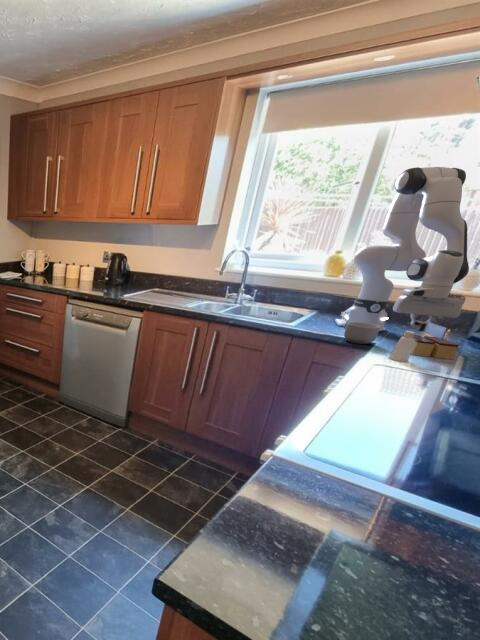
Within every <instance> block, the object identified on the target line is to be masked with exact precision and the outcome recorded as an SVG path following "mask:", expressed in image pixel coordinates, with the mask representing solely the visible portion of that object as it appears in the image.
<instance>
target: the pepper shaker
mask: <svg viewBox="0 0 480 640" xmlns="http://www.w3.org/2000/svg"><path fill="white" fill-rule="evenodd" d="M403 334H404V337H402V336H401V337H400V338H399V340H398V342H397V343H396V344H395V347H394V348H393V350H392V352H391V354H390V355H389V357H388V359H390V360H392V361H396V362H402V363H404V362H405V363H406V362H408V361H409V358H410V355H411V354H410V352H411V349H412V345H413V342H414V339H413V336H414V335H416V332H415V331H413V330H405V331H404V333H403Z"/></svg>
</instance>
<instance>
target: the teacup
mask: <svg viewBox="0 0 480 640" xmlns="http://www.w3.org/2000/svg"><path fill="white" fill-rule="evenodd" d="M343 327H344V335H343V337H344V339H346V340H347V341H348V342H350V343H352V344H359V345H367V344H369V343H372V342H374V341H375V340H376V339H377V337H378V334H379V332H380V331H379V329H380V326H379V325H375V324H371V323H364V322H352V321H348V322H346V323H345V325H344V326H343Z"/></svg>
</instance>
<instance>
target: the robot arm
mask: <svg viewBox="0 0 480 640" xmlns="http://www.w3.org/2000/svg"><path fill="white" fill-rule="evenodd" d="M466 179H467V173H466V171H465V170H464V169H461V168H458V167H445V166H432V167H431V166H429V167H420V166H419V167H418V166H417V167H411V168H407V169H405V170H404V171H402V172H401V173H400V174H399V175H398V177H397V179H396V180H395V183H394V189H395V191H396V193H397V194H396V195H395V197H394V199H393V200H392V202H391V204H390V207H389V209H388V212H387V215H386V217H385V220H384V224H383V226H382V230H381V231H382V234H383V235H384V236H385V237H387V238H388V239H389V240H390V241H391V245H380V244H379V245H377V244H376V245H367V246H362V247H361V248H360V249H358V250H357V251H356V253H355V254H354V256H353V263H354V264H353V265H355V267H356V268H357V269H358V270H359V271H360V273H361V276H362V284H361V287H360V291H359V294H358V296H357V297H356V299H355V300H354V302H353V303H352V305H351V306H350V307H349V308H347V309H346V310H344V311H341V313H340V317H341V318H336V319H335V320H334V322H335V323H336V325H337V326H339V327H344V325H345V323H346V322H348V321H352V322H364V323H371V324H375V325H379V326H380V329H379V332H381V331H383V332H384V331H387V328H386V327H384V326H385V324H386V321H387V320H389V317H388V313H387V311H386V309H387V307H388V306H389V299H390V297H391V294H392V292H393V290H394V283H393V281H392V280H390V279H388V278H387V277H386V275H385V273H386V271H388V272H390V271H391V272H406V273H405V275H406V277H407V278H408V279H409V280H410V281H415V282H421V284H420V286H419V285H418V286H413V287H406V288H403V289H402V292H401V293H402V294H401V295H399V296H398V297H397V299H396V300H395V302H394V303H393V306H392V311H393V312H394V313H398V314H406V315H407V314H408V315H409V316H410V317H409V318H410V320H411V321H410V324H411V325H417V323H418V321H419V320H418V321H416V320H417V319H416V318H417V317H418V316H419V315H421V316H428V319H426V321H424V320H423V321H422V322H424V323H426V322H427V321H429V322H431V323H433V322H434V321H435V320H436V319H437V317H438V318H439V317H441V318H451V319H456V318H458V317H459V316H460V315H461V313H462V309H463V306H464V304H465V302H466V299H467V298H466V296H464V295H463V294H457V293H451V292H452V289H453V287H454V284H457V283H459V282H461V281H462V280H463V279H465V278H466V277H467V276H468V274H469V271H470V265H469V261H468V224H467V223H468V222H467V221H466V219H464V218H463V216H462V213H461V202H462V197H463V185H464V184H465V182H466ZM419 223H420V224H421V225H422V226H424V227H425V228H427V229H429V230H431V231H434V232H437V234H440V235H441V236H443V237H444V238H445V240H446V249H443V250H438V251H436V252H435V253H434V254H432V255H430V256H429V255H428V256H427V253H426V251H425V249H423V248H421V246H420V245H419V243H418V241H417V234H416V233H417V228H418V225H419Z"/></svg>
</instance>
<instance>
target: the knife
mask: <svg viewBox="0 0 480 640" xmlns="http://www.w3.org/2000/svg"><path fill="white" fill-rule="evenodd" d="M416 321H418V323H417V325H411V323H409V326H408V327H409V328H410V329H412V330H415V331H417V332H421V333H425V334H427V335H430V336H431V337H437V338H439V339H442V340H443V339H445V336H446V334H447V331H448V329H449V328H448V327H446V326H443V325H440V324H438V323H434V322H429V321H427V320H426V321H427V322H426V321H425V322H426V323H424V322H423V321H421V320H418V319H416Z"/></svg>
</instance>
